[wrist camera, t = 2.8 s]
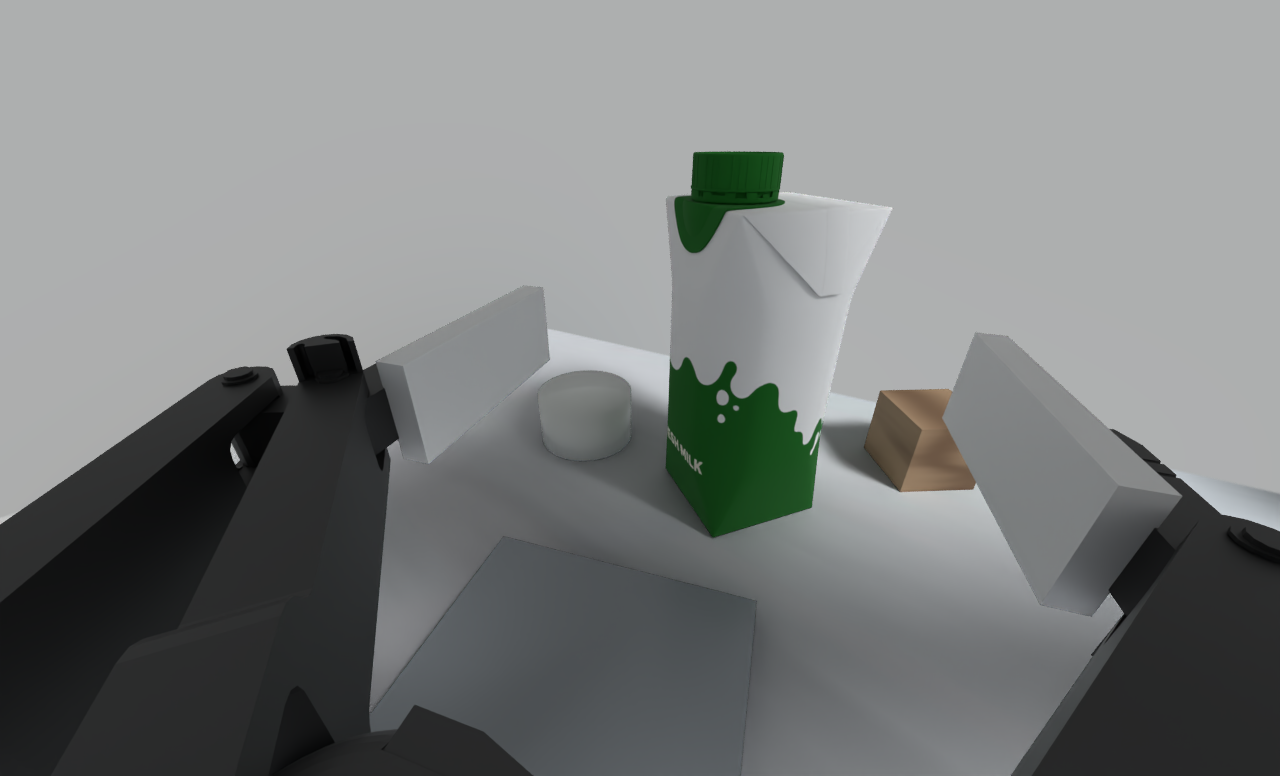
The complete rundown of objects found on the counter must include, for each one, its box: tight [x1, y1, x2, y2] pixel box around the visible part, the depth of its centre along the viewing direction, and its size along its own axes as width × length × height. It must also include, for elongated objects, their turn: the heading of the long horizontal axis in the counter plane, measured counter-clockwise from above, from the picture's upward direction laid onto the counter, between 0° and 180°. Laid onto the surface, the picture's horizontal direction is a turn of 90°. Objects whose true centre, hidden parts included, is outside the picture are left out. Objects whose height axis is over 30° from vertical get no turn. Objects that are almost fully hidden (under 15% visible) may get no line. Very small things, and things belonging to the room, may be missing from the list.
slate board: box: [369, 536, 757, 776], centre depth 18 cm, size 14×14×1 cm
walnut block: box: [864, 389, 976, 492], centre depth 31 cm, size 5×5×5 cm
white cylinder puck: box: [537, 371, 631, 461], centre depth 35 cm, size 7×7×4 cm
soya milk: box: [666, 152, 892, 537], centre depth 26 cm, size 9×9×20 cm
